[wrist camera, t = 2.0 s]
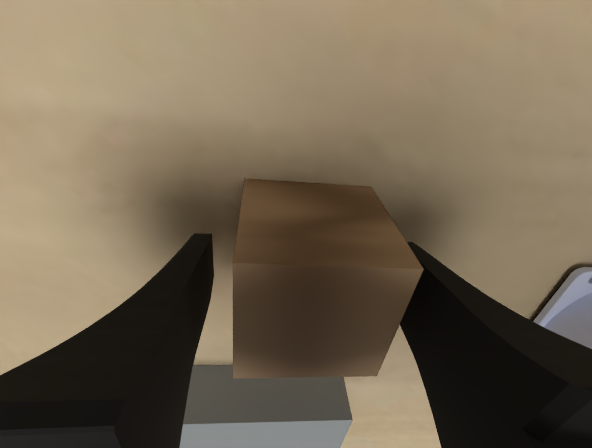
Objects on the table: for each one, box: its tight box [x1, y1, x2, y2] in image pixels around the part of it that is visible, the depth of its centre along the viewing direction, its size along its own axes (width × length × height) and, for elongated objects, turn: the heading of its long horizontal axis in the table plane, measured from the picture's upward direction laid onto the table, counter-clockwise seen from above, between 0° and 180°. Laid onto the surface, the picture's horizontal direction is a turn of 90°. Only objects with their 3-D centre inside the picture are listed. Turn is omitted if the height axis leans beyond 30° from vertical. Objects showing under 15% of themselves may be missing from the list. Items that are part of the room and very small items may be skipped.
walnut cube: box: [233, 179, 423, 378], centre depth 11 cm, size 5×5×5 cm
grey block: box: [180, 365, 352, 448], centre depth 20 cm, size 9×9×4 cm
